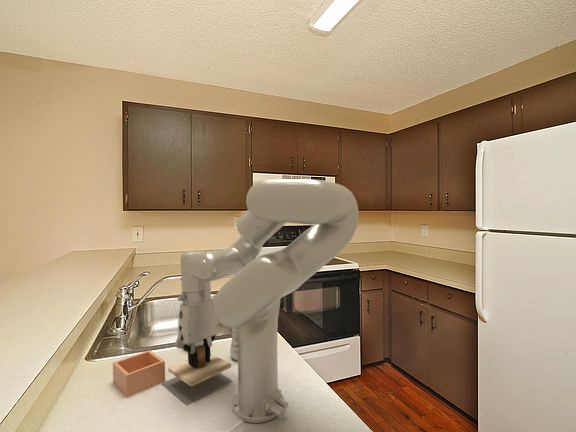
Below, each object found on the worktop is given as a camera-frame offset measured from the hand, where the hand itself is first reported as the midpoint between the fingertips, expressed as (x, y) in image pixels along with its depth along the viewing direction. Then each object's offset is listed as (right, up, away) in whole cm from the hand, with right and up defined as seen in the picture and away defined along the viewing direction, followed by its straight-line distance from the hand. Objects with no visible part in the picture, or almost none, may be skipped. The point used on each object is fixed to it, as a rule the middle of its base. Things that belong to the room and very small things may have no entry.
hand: (199, 362), depth 82 cm
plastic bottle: (+9, -6, +15) cm, 18 cm away
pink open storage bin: (-17, -6, +1) cm, 18 cm away
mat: (-1, -6, +1) cm, 6 cm away
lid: (0, -2, 0) cm, 2 cm away
